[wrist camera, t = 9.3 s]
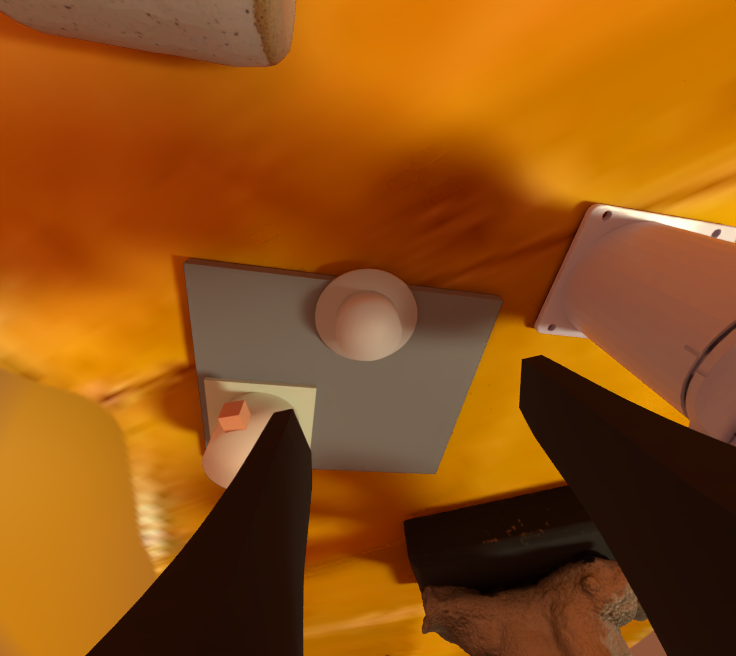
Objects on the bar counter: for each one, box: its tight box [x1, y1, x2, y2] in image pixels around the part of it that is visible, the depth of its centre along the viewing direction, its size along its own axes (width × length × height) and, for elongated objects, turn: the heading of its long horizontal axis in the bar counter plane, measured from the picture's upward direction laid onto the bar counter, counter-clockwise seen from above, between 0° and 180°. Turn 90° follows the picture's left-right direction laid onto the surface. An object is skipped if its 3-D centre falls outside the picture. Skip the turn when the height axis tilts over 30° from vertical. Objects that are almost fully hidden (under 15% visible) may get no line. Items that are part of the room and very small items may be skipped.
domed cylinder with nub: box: [202, 392, 299, 489], centre depth 21 cm, size 6×5×4 cm
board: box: [183, 258, 503, 474], centre depth 22 cm, size 18×17×3 cm
